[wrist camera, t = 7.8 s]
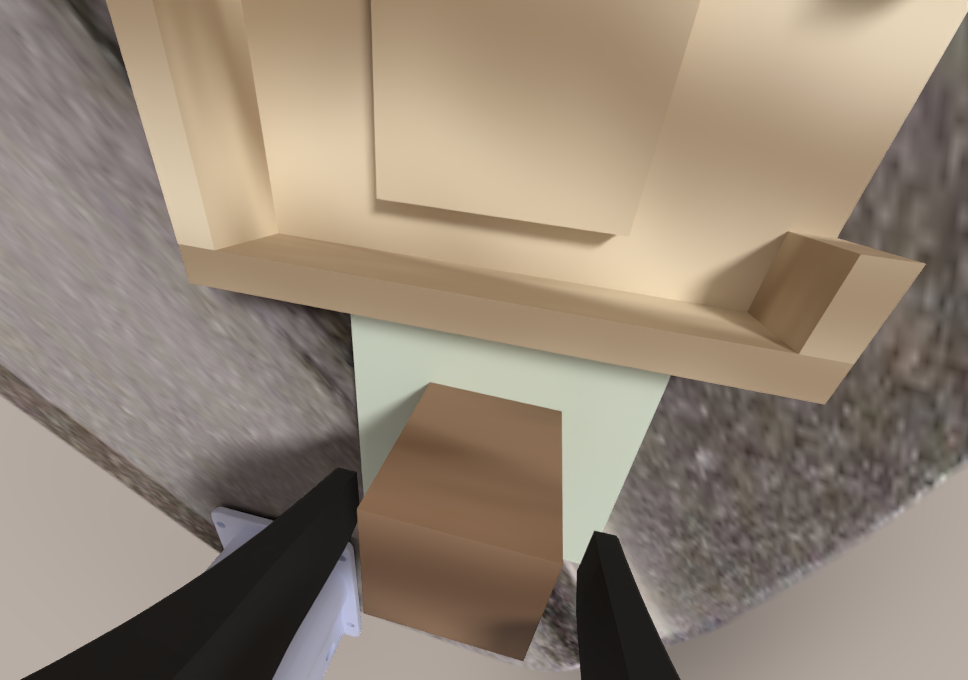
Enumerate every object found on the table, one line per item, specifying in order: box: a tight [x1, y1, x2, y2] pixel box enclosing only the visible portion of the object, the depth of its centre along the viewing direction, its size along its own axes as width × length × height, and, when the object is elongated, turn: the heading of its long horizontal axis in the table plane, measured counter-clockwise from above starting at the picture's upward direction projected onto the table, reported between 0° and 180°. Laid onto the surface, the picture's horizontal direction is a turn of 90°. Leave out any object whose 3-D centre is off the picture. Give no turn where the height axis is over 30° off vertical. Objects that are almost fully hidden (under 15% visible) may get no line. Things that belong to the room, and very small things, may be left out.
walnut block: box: [357, 382, 563, 661], centre depth 11 cm, size 4×4×5 cm
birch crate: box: [106, 0, 968, 404], centre depth 7 cm, size 11×15×3 cm
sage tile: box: [351, 314, 671, 564], centre depth 13 cm, size 10×10×1 cm
